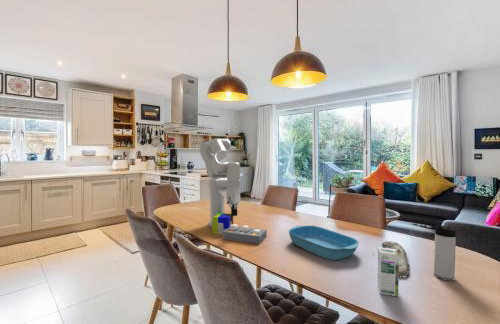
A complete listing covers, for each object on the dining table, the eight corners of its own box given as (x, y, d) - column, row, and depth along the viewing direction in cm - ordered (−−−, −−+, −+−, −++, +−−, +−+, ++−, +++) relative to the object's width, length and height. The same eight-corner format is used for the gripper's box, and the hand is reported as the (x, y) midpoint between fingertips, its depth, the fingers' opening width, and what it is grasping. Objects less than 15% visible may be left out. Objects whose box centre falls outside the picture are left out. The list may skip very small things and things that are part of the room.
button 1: (231, 229, 145) (231, 223, 145) (238, 230, 143) (238, 224, 143) (228, 231, 141) (228, 225, 141) (235, 232, 139) (235, 226, 139)
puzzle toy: (228, 234, 145) (228, 217, 145) (212, 233, 147) (212, 217, 147) (233, 229, 155) (233, 213, 155) (218, 228, 157) (218, 213, 157)
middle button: (242, 231, 142) (242, 225, 142) (249, 231, 141) (249, 225, 141) (239, 233, 138) (239, 227, 138) (247, 234, 137) (247, 228, 137)
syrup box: (379, 294, 84) (380, 252, 83) (377, 285, 89) (377, 246, 89) (398, 297, 82) (399, 254, 81) (395, 288, 87) (395, 248, 87)
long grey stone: (383, 278, 98) (413, 285, 93) (384, 265, 97) (414, 272, 93) (380, 244, 129) (402, 248, 125) (381, 234, 128) (403, 238, 124)
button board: (231, 232, 149) (231, 225, 149) (266, 236, 141) (266, 229, 141) (222, 238, 138) (222, 231, 138) (259, 244, 130) (259, 236, 130)
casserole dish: (368, 255, 116) (368, 240, 115) (339, 268, 103) (339, 251, 103) (308, 234, 146) (308, 222, 146) (280, 242, 133) (280, 229, 133)
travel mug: (429, 273, 98) (430, 224, 98) (444, 272, 99) (445, 223, 98) (442, 281, 92) (444, 228, 91) (458, 280, 93) (460, 228, 92)
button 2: (254, 234, 140) (254, 228, 140) (261, 235, 138) (261, 229, 138) (251, 237, 136) (251, 231, 136) (258, 238, 134) (258, 232, 134)
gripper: (233, 182, 149) (233, 212, 149) (221, 184, 135) (222, 218, 135) (244, 182, 146) (245, 213, 147) (234, 185, 133) (234, 219, 133)
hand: (234, 215), depth 141 cm, fingers closed
